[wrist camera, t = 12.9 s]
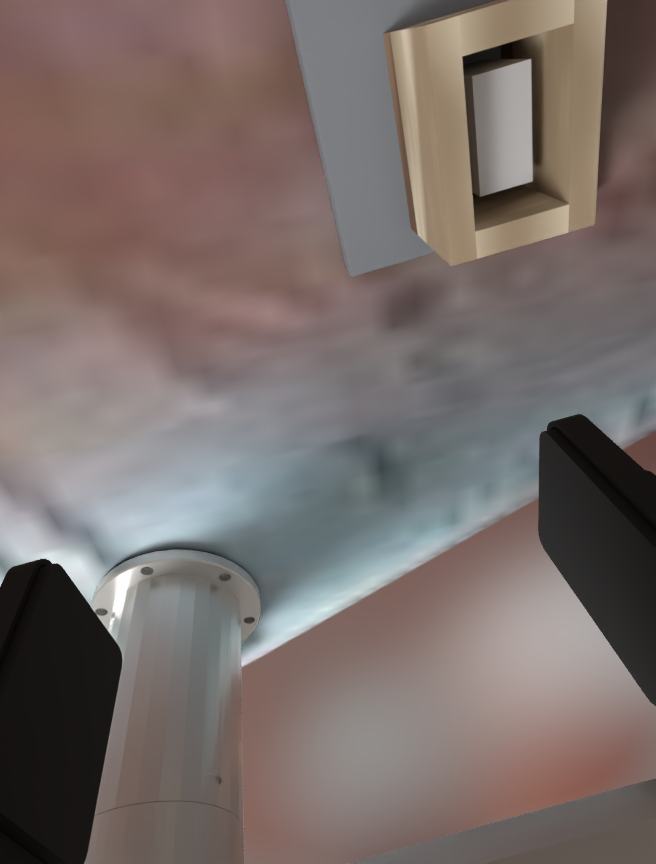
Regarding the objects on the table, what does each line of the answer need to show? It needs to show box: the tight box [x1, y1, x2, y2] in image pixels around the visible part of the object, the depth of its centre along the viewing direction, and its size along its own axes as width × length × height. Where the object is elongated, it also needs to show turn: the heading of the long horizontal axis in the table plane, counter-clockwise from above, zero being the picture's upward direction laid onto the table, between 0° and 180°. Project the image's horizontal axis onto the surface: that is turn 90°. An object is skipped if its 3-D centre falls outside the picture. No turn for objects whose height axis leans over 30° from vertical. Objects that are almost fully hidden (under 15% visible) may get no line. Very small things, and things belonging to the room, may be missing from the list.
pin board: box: [285, 0, 607, 277], centre depth 21 cm, size 18×13×6 cm
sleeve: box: [383, 0, 607, 266], centre depth 22 cm, size 6×8×6 cm
